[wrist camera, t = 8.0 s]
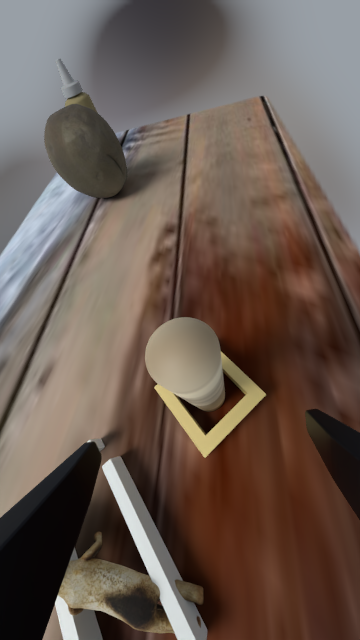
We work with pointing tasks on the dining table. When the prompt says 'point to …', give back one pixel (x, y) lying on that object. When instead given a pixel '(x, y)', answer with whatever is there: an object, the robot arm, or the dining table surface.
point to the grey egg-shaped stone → (85, 151)
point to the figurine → (119, 592)
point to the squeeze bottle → (73, 89)
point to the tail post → (187, 362)
